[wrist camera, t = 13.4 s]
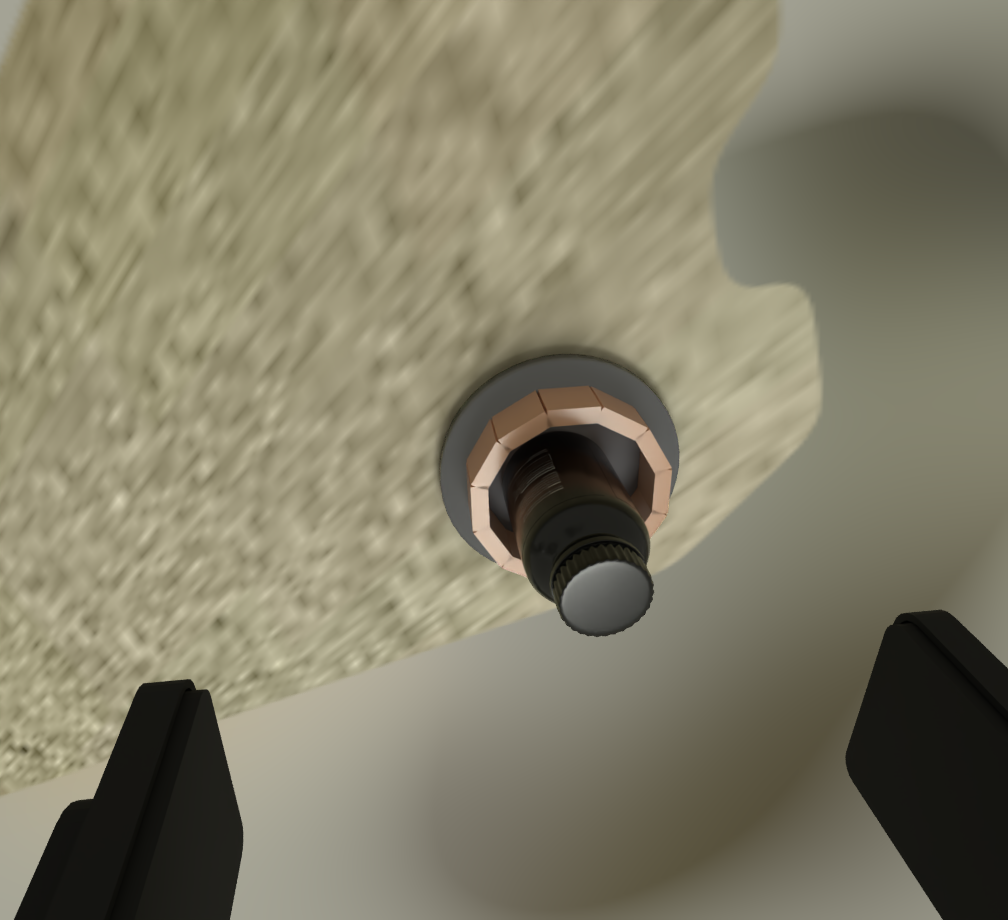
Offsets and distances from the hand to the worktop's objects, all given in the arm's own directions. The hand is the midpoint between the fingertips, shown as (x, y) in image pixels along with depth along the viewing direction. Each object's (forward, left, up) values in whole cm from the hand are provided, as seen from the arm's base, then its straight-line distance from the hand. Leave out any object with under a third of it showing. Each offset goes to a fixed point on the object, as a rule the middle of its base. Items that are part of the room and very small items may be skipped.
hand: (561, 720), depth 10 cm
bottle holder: (+7, -15, -33) cm, 37 cm away
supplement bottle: (+6, -15, -32) cm, 36 cm away
